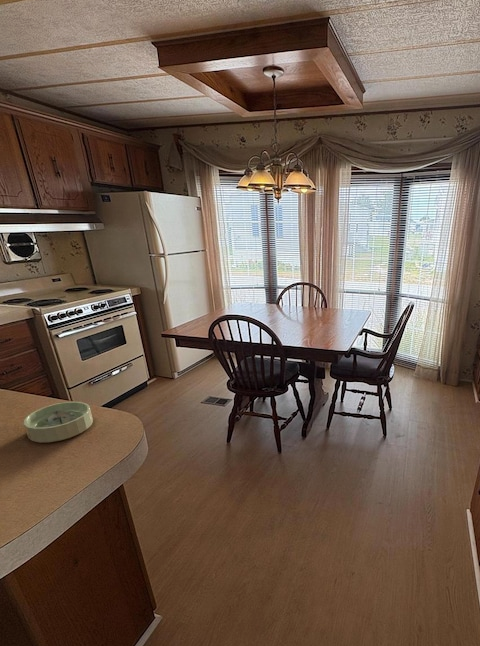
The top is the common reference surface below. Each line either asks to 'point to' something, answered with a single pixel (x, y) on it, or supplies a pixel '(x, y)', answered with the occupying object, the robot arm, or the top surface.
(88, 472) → the top surface
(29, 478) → the top surface
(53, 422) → the crumpled paper
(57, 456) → the top surface
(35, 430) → the bowl
